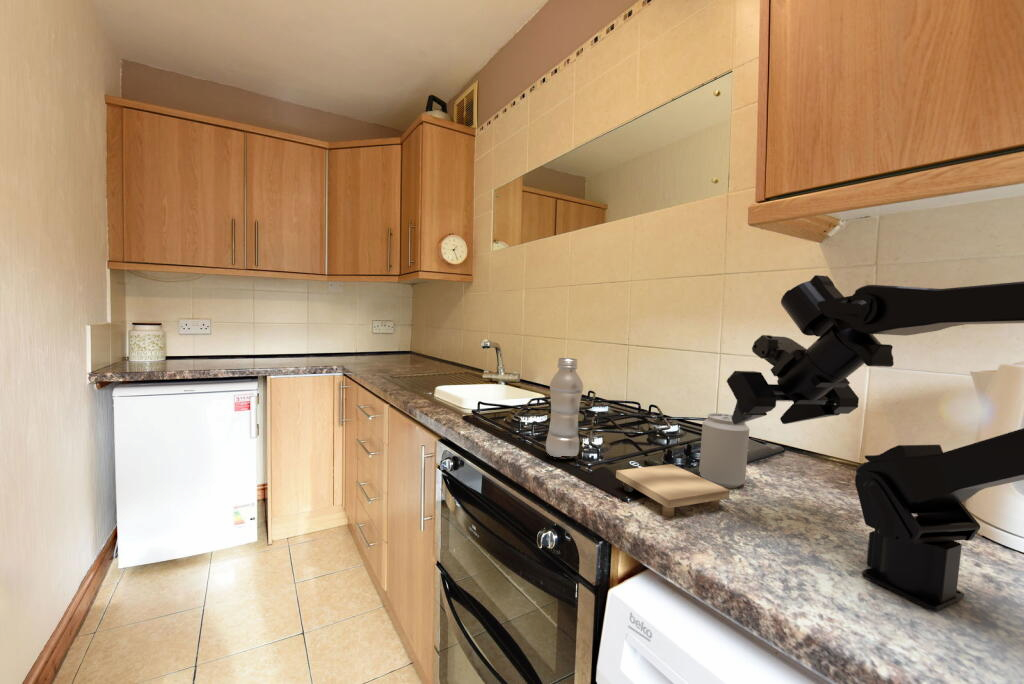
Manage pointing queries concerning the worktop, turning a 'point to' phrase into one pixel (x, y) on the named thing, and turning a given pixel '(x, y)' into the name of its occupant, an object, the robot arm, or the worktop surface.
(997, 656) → the worktop surface
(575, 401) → the plastic bottle
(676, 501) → the small wooden stand
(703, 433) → the can
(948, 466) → the robot arm
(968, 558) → the worktop surface
